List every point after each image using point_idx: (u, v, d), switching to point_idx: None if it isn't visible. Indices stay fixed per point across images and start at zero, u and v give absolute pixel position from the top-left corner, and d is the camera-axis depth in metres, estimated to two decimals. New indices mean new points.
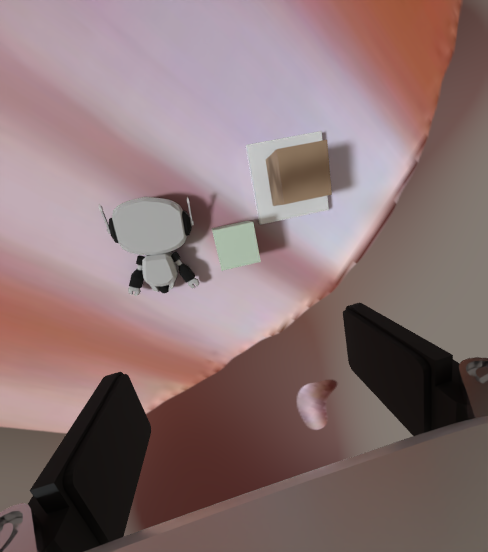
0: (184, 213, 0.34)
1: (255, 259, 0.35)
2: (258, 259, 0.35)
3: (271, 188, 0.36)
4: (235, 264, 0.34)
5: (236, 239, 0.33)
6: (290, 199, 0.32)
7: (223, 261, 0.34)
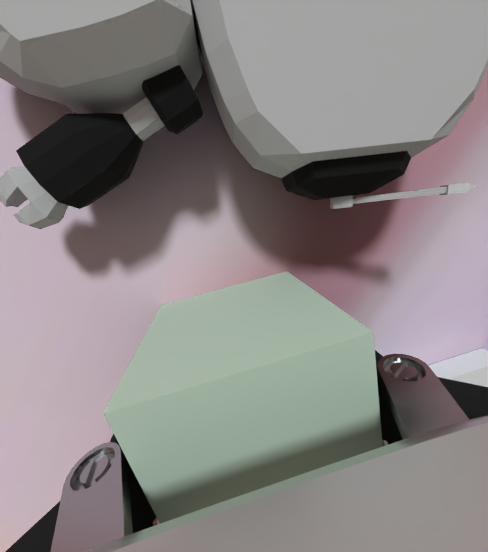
0: (403, 167, 0.07)
1: None
2: None
3: None
4: (160, 480, 0.05)
5: (312, 459, 0.06)
6: None
7: (177, 414, 0.05)
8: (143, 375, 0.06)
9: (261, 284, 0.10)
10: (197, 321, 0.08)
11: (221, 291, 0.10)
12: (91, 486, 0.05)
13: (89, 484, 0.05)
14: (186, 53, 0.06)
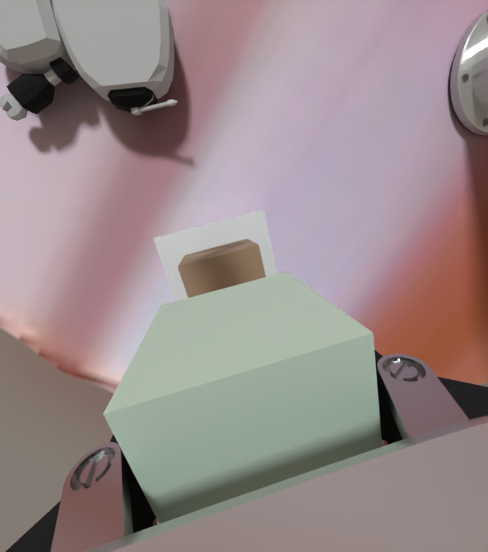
0: (148, 93, 0.19)
1: None
2: None
3: (208, 249, 0.24)
4: (160, 480, 0.05)
5: (311, 459, 0.06)
6: (186, 276, 0.19)
7: (176, 414, 0.05)
8: (143, 376, 0.06)
9: (261, 284, 0.10)
10: (197, 321, 0.08)
11: (220, 292, 0.10)
12: (91, 486, 0.05)
13: (89, 484, 0.05)
14: (63, 53, 0.18)
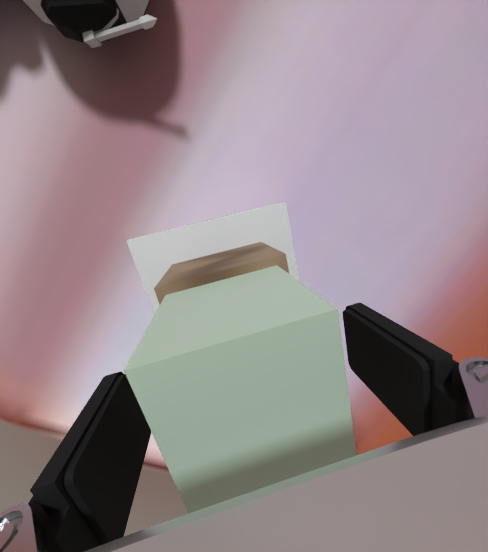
0: (108, 4, 0.11)
1: (201, 497, 0.07)
2: (200, 509, 0.08)
3: (206, 257, 0.17)
4: (168, 428, 0.07)
5: (291, 414, 0.07)
6: None
7: (181, 373, 0.06)
8: (153, 345, 0.07)
9: (254, 276, 0.11)
10: (197, 306, 0.09)
11: (218, 283, 0.12)
12: None
13: None
14: None
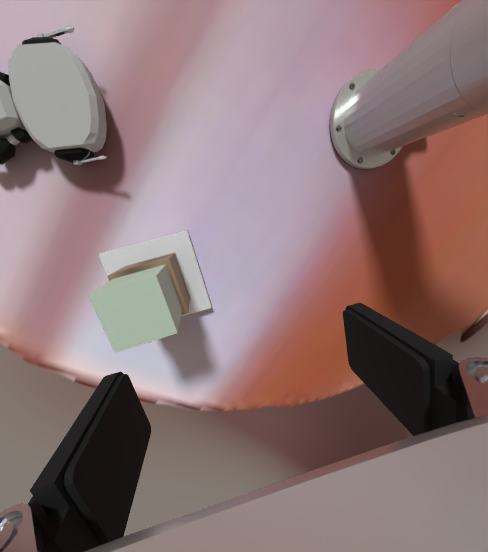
0: (84, 151, 0.26)
1: (118, 344, 0.22)
2: (118, 349, 0.22)
3: (142, 261, 0.31)
4: (103, 315, 0.21)
5: (147, 312, 0.21)
6: None
7: (106, 296, 0.20)
8: (98, 290, 0.21)
9: (151, 269, 0.25)
10: (120, 280, 0.23)
11: (136, 272, 0.26)
12: None
13: None
14: (20, 124, 0.25)
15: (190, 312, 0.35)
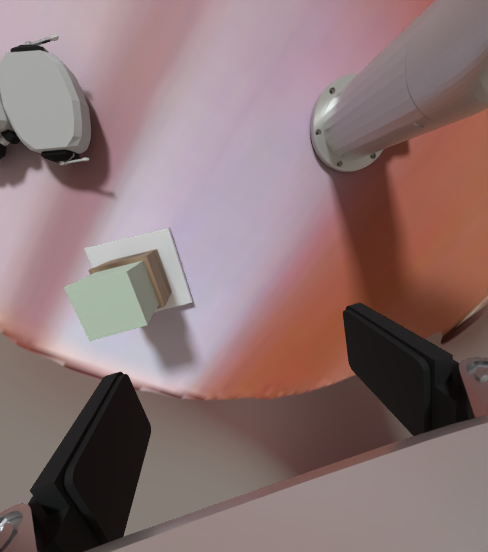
0: (69, 153, 0.27)
1: (92, 333, 0.24)
2: (92, 337, 0.24)
3: (125, 257, 0.33)
4: (78, 306, 0.23)
5: (118, 305, 0.23)
6: None
7: (80, 289, 0.22)
8: (75, 283, 0.23)
9: (129, 264, 0.27)
10: (98, 274, 0.25)
11: (115, 267, 0.28)
12: None
13: None
14: (9, 126, 0.27)
15: (171, 306, 0.36)
